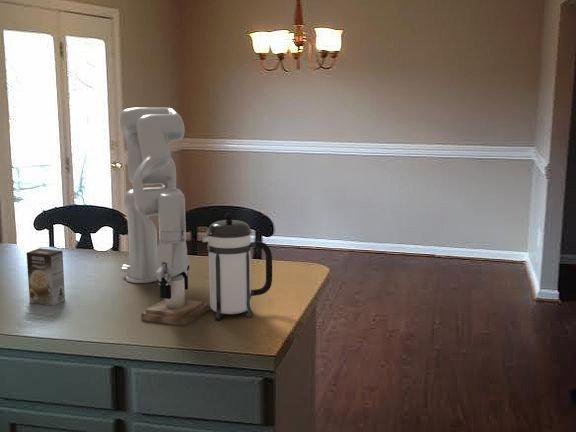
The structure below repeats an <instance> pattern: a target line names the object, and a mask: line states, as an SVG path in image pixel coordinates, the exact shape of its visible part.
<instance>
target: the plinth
mask: <svg viewBox="0 0 576 432" xmlns="http://www.w3.org/2000/svg"><path fill="white" fill-rule="evenodd" d="M207 312H209V305H208V304H207V303H204V301H200V300H199V301H198V300H190V299H185V306H183V307H181V308H168V307H166V305H165V299H164V298H163V299H162V300H161V301H158V302H157V303H155V304H153V305H151V306H150V307H148V308H146V309H145V310H144V311H143V312H141V313H140V316H141V317H140V318H141V320H140V321H145V322H151V323H152V322H153V323H160V324H166V325H167V324H169V325H176V326H184V327H185V326H186V325H187V326H188V325H189V324H190V323H192V322H193V321H195V320H197V318H199V317H201V316H202V315H204V314H206V313H207Z"/></svg>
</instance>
